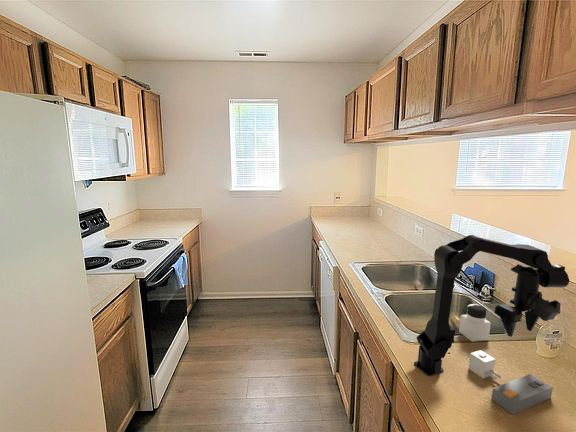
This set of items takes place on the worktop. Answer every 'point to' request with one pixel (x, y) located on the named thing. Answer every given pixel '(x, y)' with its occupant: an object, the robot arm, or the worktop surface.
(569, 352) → the worktop surface
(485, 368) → the charger
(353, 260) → the worktop surface
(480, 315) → the medicine bottle
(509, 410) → the power strip
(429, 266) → the worktop surface
